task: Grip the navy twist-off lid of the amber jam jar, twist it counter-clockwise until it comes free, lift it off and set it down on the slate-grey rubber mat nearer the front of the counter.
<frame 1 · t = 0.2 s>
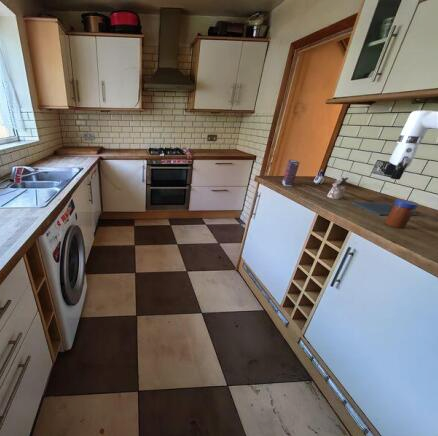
hand: (391, 176, 111), 17 cm above the table, tool pointing down, fingers open, 9 cm apart
figurine: (334, 197, 132), on the table
jar: (394, 224, 100), on the table
lid: (406, 202, 96), point 10 cm above the table, screwed on, not yet turned
supplement box: (286, 184, 153), on the table
mat: (382, 209, 117), on the table
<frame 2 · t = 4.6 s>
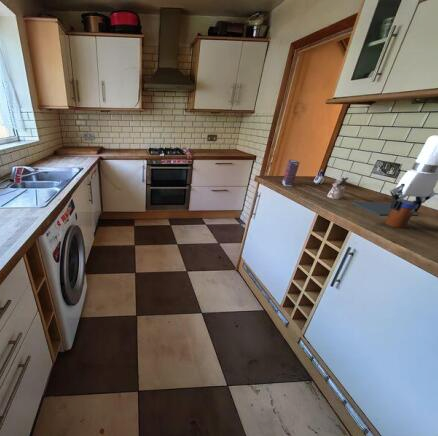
hand: (403, 209, 97), 7 cm above the table, tool pointing down, fingers closed on lid, 6 cm apart
lid: (406, 202, 96), point 10 cm above the table, screwed on, not yet turned, touching gripper
everything else where it was.
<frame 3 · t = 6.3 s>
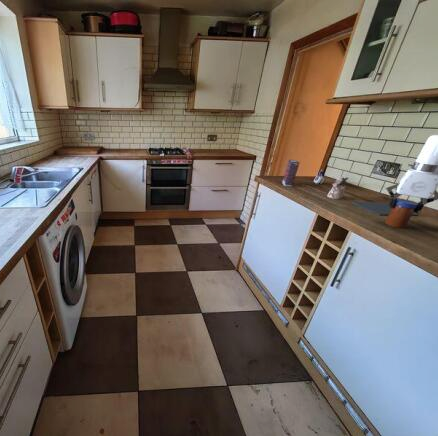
hand: (403, 209, 97), 8 cm above the table, tool pointing down, fingers closed on lid, 6 cm apart
lid: (406, 202, 96), point 11 cm above the table, off its thread, touching gripper
everything else where it was.
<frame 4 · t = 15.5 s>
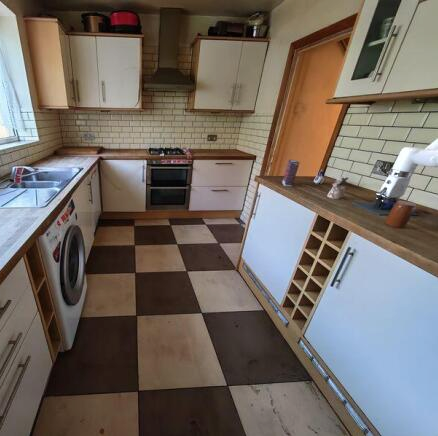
hand: (382, 207, 117), 1 cm above the table, tool pointing down, fingers closed on lid, 6 cm apart
lid: (385, 202, 116), point 4 cm above the table, off its thread, touching gripper
everything else where it was.
when the fingers open (2 cm above the table, at t = 25.0 s): lid drops 3 cm, resting on mat.
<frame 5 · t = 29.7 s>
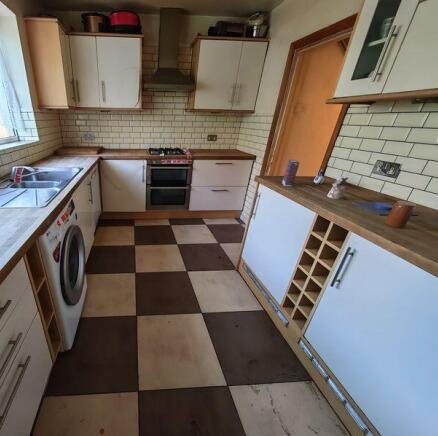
lid: (384, 205, 116), point 2 cm above the table, off its thread, touching mat
everything else where it was.
at the end: lid came off its thread; lid inside the target area on the mat (0.1 cm from its centre), point 1.9 cm above the mat's base; the gripper is holding nothing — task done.
